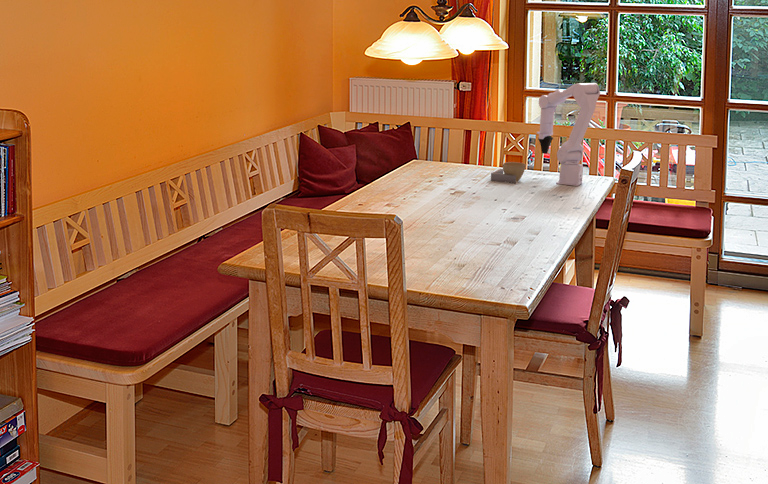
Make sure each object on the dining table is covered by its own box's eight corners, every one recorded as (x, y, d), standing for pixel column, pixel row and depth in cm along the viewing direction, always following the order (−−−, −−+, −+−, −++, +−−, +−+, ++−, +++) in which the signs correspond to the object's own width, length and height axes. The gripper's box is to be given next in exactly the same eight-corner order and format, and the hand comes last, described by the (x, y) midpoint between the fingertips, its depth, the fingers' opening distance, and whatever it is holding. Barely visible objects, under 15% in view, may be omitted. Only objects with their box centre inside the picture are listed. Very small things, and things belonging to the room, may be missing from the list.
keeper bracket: (523, 179, 365) (524, 171, 364) (514, 183, 354) (515, 175, 353) (500, 176, 370) (500, 168, 369) (490, 181, 359) (491, 173, 358)
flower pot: (497, 179, 364) (498, 162, 362) (516, 177, 368) (517, 161, 366) (510, 183, 356) (511, 166, 354) (529, 181, 360) (530, 165, 358)
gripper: (542, 120, 373) (540, 150, 377) (532, 123, 361) (530, 154, 365) (558, 121, 370) (556, 151, 374) (548, 125, 358) (546, 156, 361)
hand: (544, 153), depth 369 cm, fingers closed
